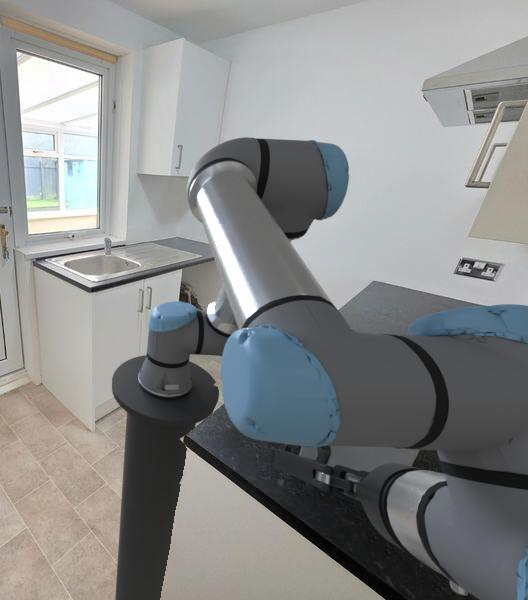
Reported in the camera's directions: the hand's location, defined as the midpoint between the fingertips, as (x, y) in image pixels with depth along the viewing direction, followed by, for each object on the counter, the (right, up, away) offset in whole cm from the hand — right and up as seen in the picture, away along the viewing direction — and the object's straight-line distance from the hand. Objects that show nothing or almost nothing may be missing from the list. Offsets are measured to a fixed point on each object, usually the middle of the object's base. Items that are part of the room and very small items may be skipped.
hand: (326, 471), depth 47 cm
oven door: (+8, -10, +9) cm, 16 cm away
